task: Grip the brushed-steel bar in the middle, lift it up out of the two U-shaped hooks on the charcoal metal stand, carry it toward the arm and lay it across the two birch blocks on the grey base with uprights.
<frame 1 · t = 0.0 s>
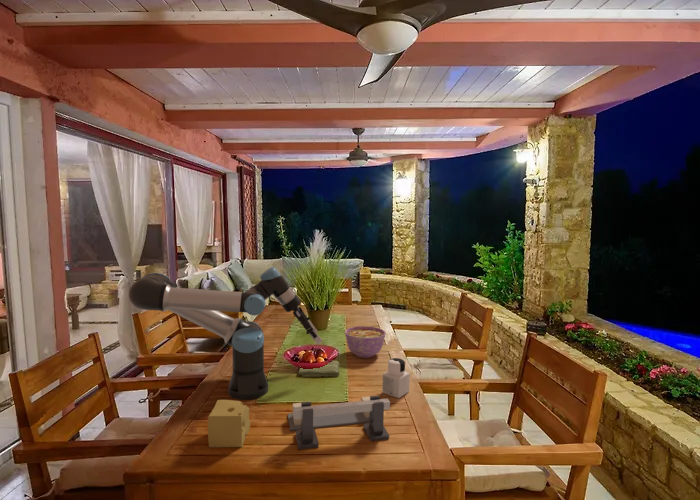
hand: (317, 337, 171), 15 cm above the table, tool tilted 35°, fingers open, 13 cm apart
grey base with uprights: (335, 418, 134), on the table
hook stand: (342, 436, 123), on the table
bowl of food: (364, 355, 194), on the table
cheese: (229, 439, 121), on the table
container: (395, 392, 154), on the table
washcloth: (319, 372, 173), on the table
rail: (342, 412, 122), point 8 cm above the table, touching hook stand
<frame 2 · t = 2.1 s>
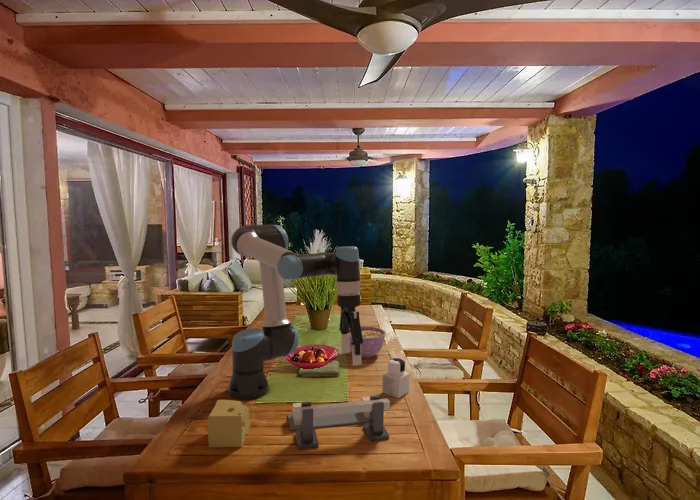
hand: (351, 358, 129), 22 cm above the table, tool pointing down, fingers open, 13 cm apart
nothing on the table moved.
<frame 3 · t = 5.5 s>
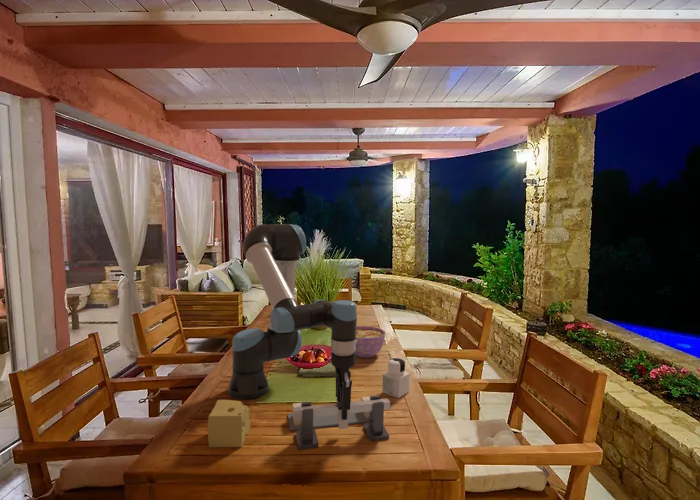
hand: (342, 425, 122), 4 cm above the table, tool pointing down, fingers closed on rail, 2 cm apart
rail: (342, 412, 122), point 8 cm above the table, touching gripper, hook stand
everything else where it was.
when the fingers open (2 cm above the table, at t = 9.7 s): rail drops 1 cm, resting on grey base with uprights.
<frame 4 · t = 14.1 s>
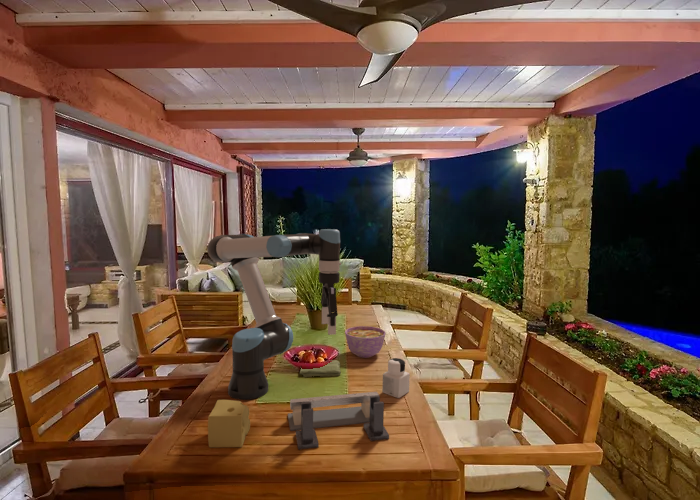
hand: (328, 328, 145), 27 cm above the table, tool pointing down, fingers open, 13 cm apart
rail: (335, 403, 133), point 5 cm above the table, touching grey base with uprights
everything else where it was.
at the end: rail inside the target area (0.0 cm from its centre), point 5.0 cm above the table; rail tilted 0°; the gripper is holding nothing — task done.
